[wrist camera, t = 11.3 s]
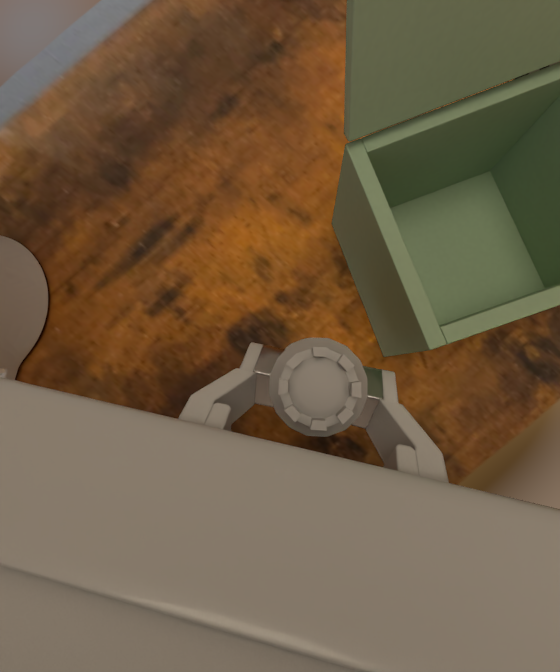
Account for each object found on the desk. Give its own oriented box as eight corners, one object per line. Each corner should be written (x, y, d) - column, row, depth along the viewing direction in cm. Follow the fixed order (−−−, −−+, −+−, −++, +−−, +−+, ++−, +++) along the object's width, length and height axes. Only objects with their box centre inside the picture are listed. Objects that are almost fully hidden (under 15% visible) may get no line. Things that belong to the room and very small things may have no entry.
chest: (552, 297, 27) (705, 254, 17) (383, 357, 28) (429, 350, 17) (489, 164, 29) (593, 48, 18) (331, 223, 29) (345, 143, 19)
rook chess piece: (369, 392, 17) (426, 413, 9) (299, 436, 17) (296, 493, 9) (324, 323, 18) (341, 287, 10) (256, 366, 18) (219, 364, 10)
